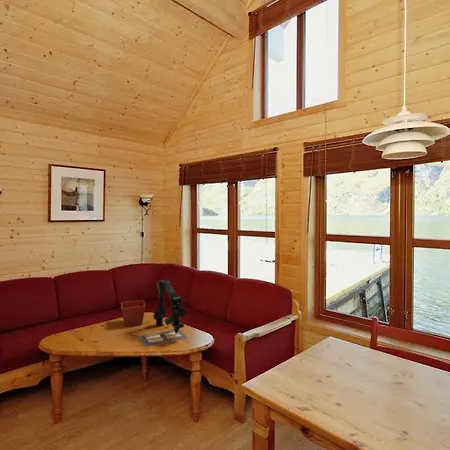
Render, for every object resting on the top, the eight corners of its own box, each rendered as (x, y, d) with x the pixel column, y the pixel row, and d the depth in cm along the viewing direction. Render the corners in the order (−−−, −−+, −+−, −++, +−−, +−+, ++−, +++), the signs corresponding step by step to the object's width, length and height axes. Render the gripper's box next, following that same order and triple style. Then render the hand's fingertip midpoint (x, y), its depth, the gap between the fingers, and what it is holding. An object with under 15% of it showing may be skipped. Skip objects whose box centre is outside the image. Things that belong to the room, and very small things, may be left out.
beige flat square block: (164, 335, 246) (164, 333, 246) (176, 333, 251) (176, 331, 251) (168, 340, 237) (168, 338, 237) (181, 337, 242) (181, 335, 242)
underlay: (137, 336, 246) (137, 336, 246) (178, 328, 261) (178, 328, 261) (144, 347, 226) (144, 346, 226) (187, 338, 241) (187, 337, 241)
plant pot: (121, 320, 281) (121, 301, 280) (144, 318, 287) (143, 299, 286) (121, 328, 263) (121, 308, 262) (145, 325, 269) (145, 305, 268)
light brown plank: (143, 336, 246) (143, 334, 246) (174, 330, 257) (174, 328, 257) (145, 338, 240) (144, 336, 240) (177, 332, 252) (177, 330, 252)
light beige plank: (146, 339, 240) (145, 337, 240) (159, 336, 244) (159, 334, 244) (149, 343, 231) (149, 341, 231) (163, 341, 235) (163, 339, 235)
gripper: (161, 311, 247) (162, 331, 247) (169, 318, 230) (169, 340, 231) (175, 309, 252) (176, 328, 253) (183, 316, 235) (184, 337, 236)
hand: (176, 333), depth 243 cm, fingers closed
